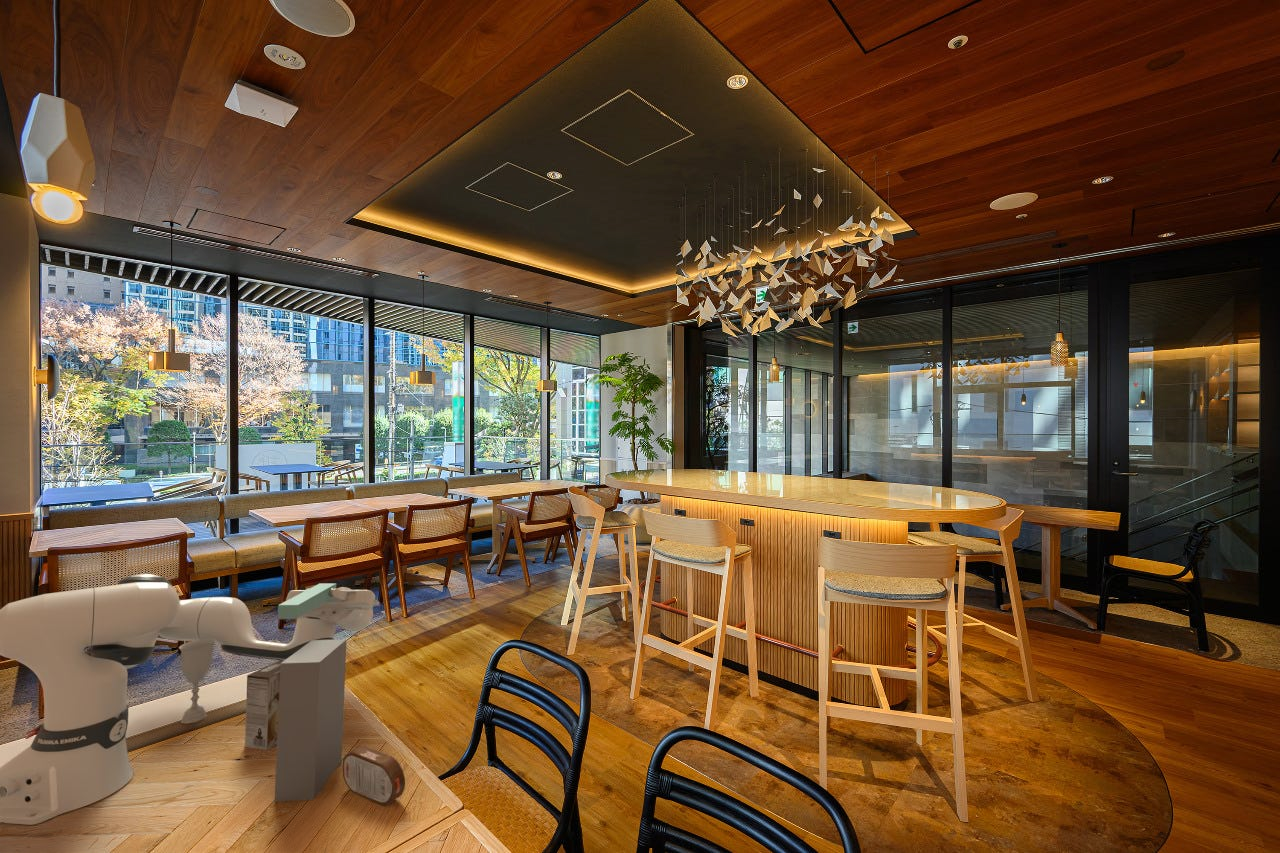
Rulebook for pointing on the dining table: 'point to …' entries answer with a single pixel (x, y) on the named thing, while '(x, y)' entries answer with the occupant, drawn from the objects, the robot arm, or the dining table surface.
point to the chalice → (196, 672)
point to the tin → (373, 775)
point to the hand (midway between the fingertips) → (320, 591)
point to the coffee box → (262, 707)
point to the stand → (310, 719)
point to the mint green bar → (305, 601)
